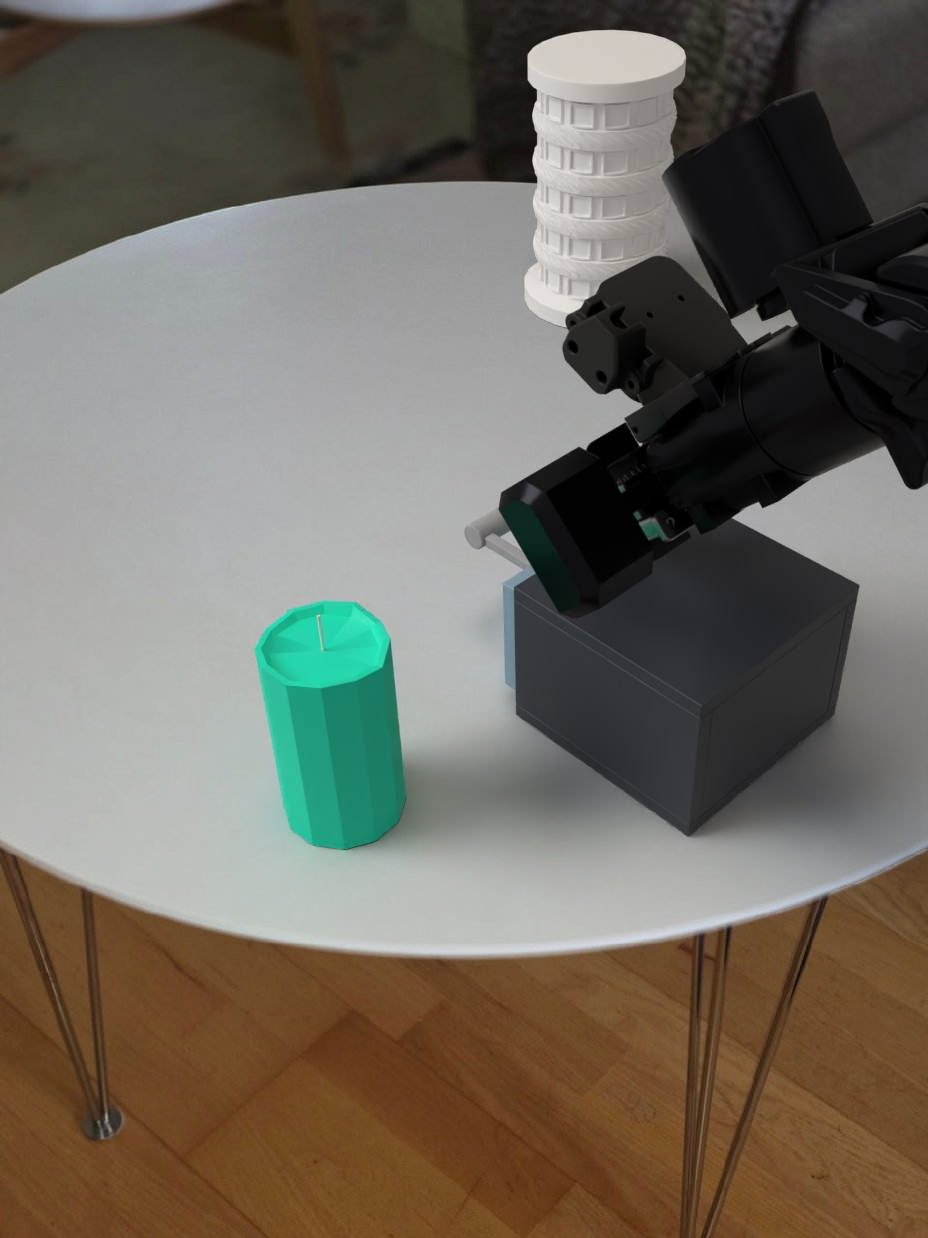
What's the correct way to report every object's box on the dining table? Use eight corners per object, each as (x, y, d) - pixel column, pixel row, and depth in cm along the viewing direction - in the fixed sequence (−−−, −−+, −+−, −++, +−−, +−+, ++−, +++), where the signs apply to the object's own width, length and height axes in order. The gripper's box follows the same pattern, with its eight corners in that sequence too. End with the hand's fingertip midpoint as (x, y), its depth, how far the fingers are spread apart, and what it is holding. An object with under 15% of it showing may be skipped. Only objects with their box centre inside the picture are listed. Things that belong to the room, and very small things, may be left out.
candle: (321, 869, 64) (289, 682, 56) (262, 791, 68) (225, 605, 60) (429, 813, 66) (414, 625, 58) (367, 740, 70) (344, 555, 62)
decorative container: (515, 267, 110) (511, 34, 98) (657, 255, 110) (671, 22, 98) (535, 337, 101) (534, 91, 89) (689, 324, 101) (709, 78, 90)
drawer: (438, 637, 74) (431, 538, 70) (570, 553, 80) (571, 455, 75) (657, 789, 66) (665, 686, 61) (790, 683, 71) (806, 581, 66)
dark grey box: (515, 714, 71) (513, 586, 65) (662, 611, 77) (671, 485, 71) (688, 837, 64) (702, 706, 59) (835, 714, 70) (860, 584, 65)
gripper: (837, 159, 59) (632, 307, 72) (529, 313, 49) (361, 449, 63) (962, 385, 59) (736, 489, 73) (683, 579, 50) (483, 657, 64)
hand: (587, 514), depth 68 cm, fingers closed
